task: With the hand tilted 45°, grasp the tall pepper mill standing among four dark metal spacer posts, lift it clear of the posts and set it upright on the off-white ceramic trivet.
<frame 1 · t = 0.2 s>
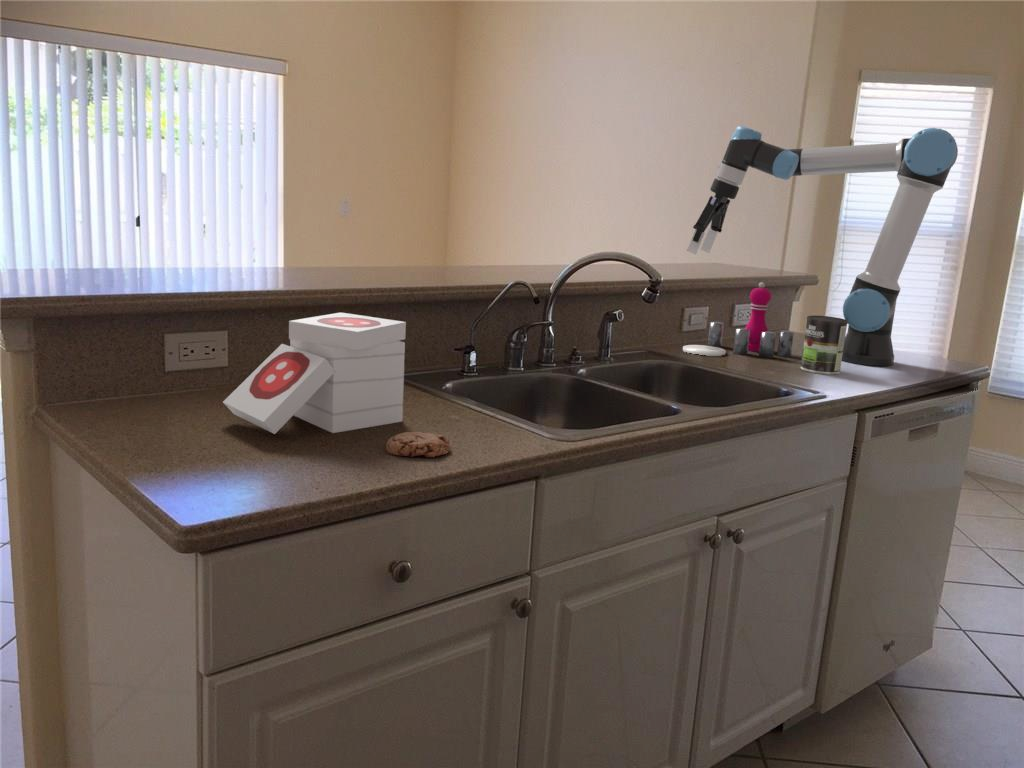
hand: (698, 251, 261), 27 cm above the worktop, tool tilted 15°, fingers open, 13 cm apart
coffee can: (820, 371, 239), on the worktop
pepper mill: (753, 350, 265), on the worktop
cookie: (418, 453, 148), on the worktop
spacer posts: (753, 349, 265), on the worktop
pizza boxes: (320, 423, 162), on the worktop
trivet: (703, 352, 256), on the worktop
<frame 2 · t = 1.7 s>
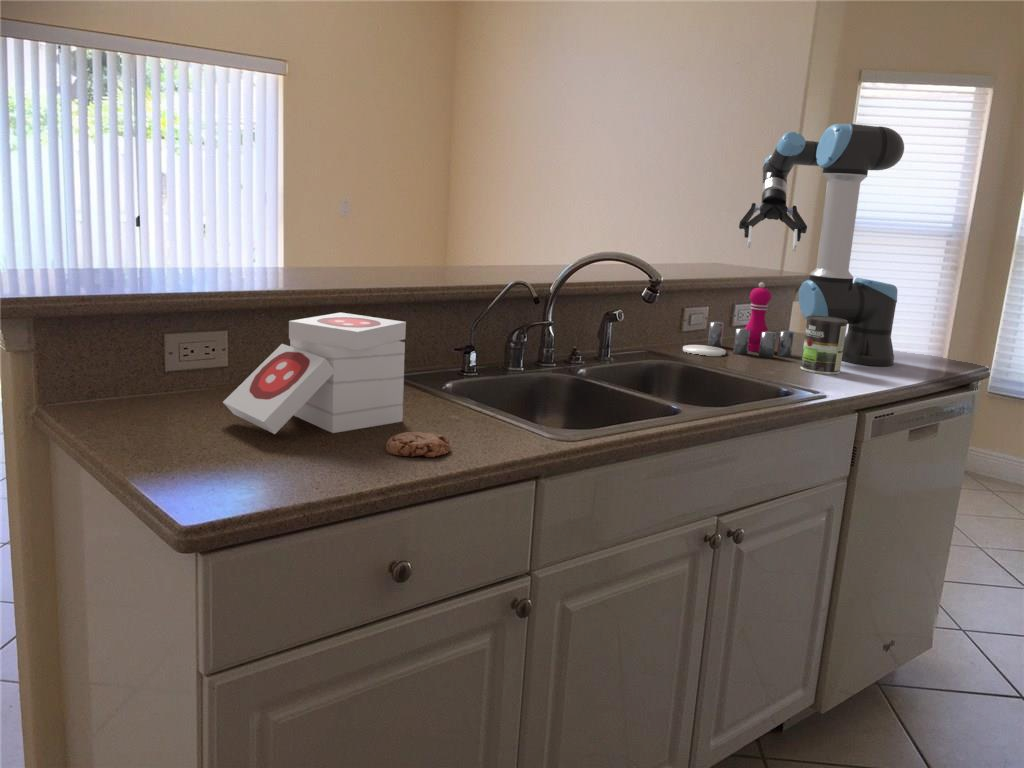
hand: (771, 246, 273), 30 cm above the worktop, tool tilted 45°, fingers open, 13 cm apart
nothing on the worktop moved.
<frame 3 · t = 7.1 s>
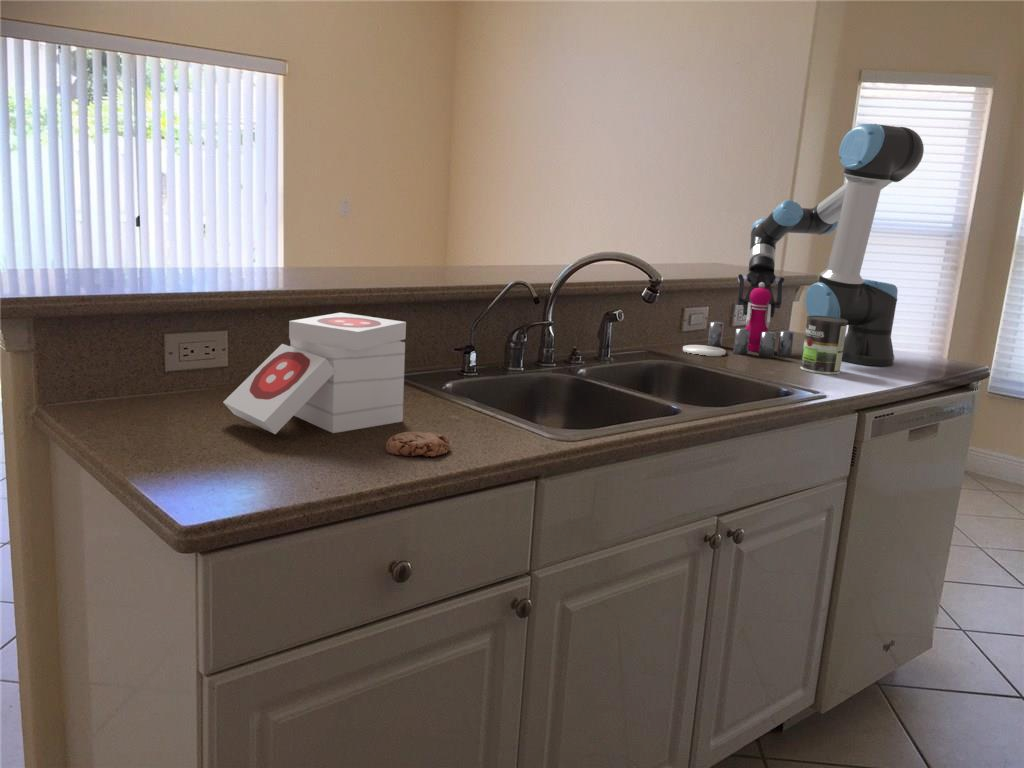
hand: (757, 323, 260), 8 cm above the worktop, tool tilted 45°, fingers closed on pepper mill, 5 cm apart
pepper mill: (753, 350, 265), on the worktop, touching gripper
everything else where it was.
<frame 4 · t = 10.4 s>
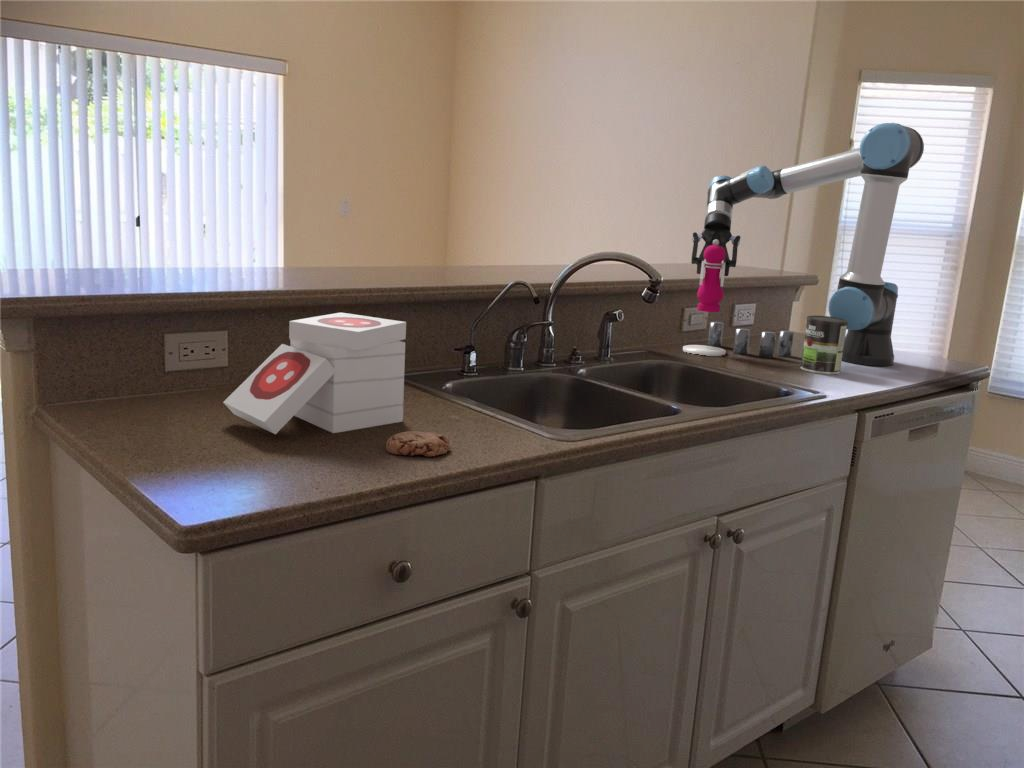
hand: (711, 282, 248), 20 cm above the worktop, tool tilted 45°, fingers closed on pepper mill, 5 cm apart
pepper mill: (708, 311, 253), point 12 cm above the worktop, touching gripper
everything else where it was.
when the fingers open (9 cm above the worktop, at t = 14.2 s): pepper mill stays where it is, resting on trivet.
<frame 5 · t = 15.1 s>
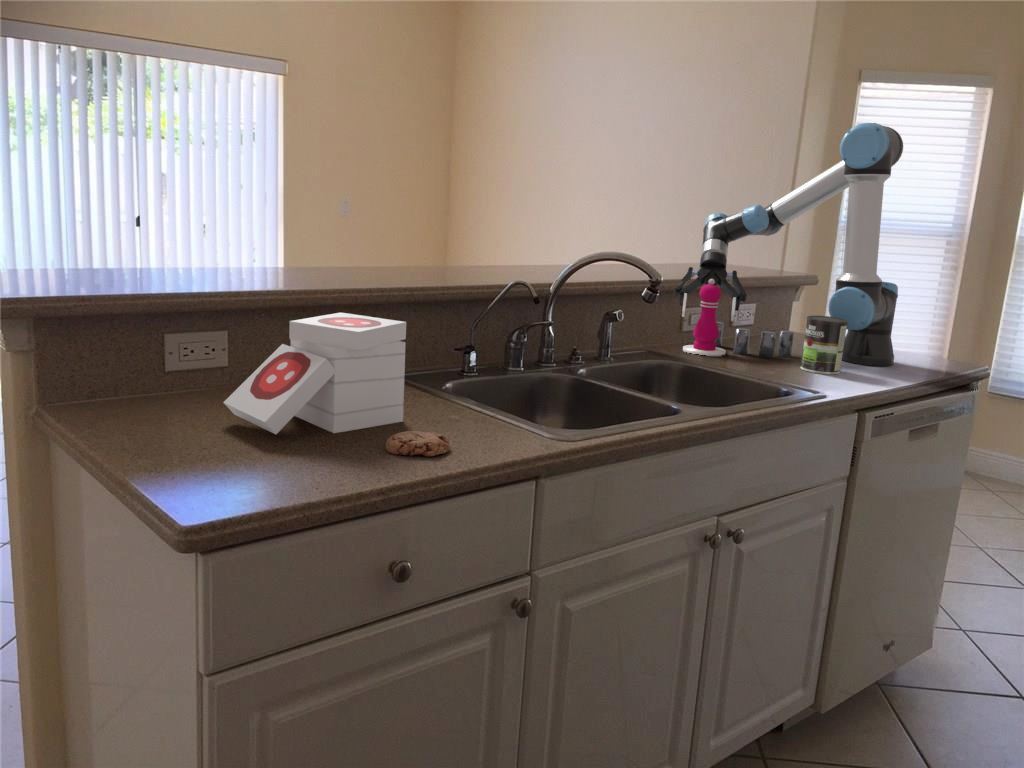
hand: (707, 316, 251), 11 cm above the worktop, tool tilted 45°, fingers open, 13 cm apart
pepper mill: (704, 349, 256), point 1 cm above the worktop, touching trivet
everything else where it was.
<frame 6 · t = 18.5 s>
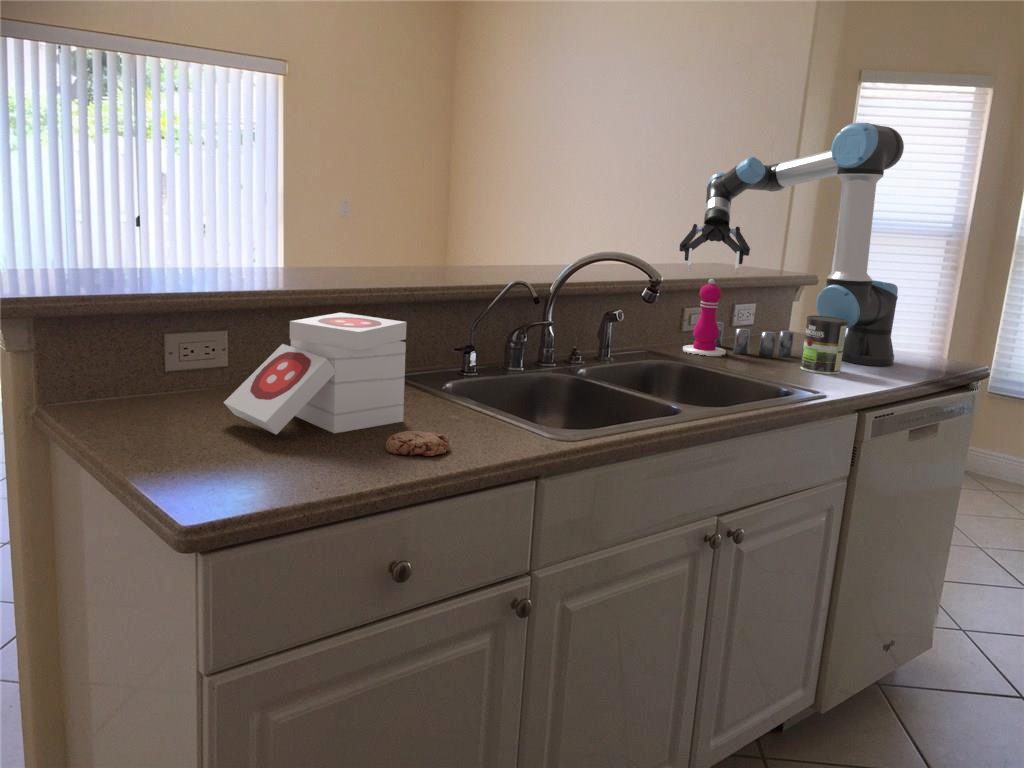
hand: (712, 269, 260), 23 cm above the worktop, tool tilted 45°, fingers open, 13 cm apart
nothing on the worktop moved.
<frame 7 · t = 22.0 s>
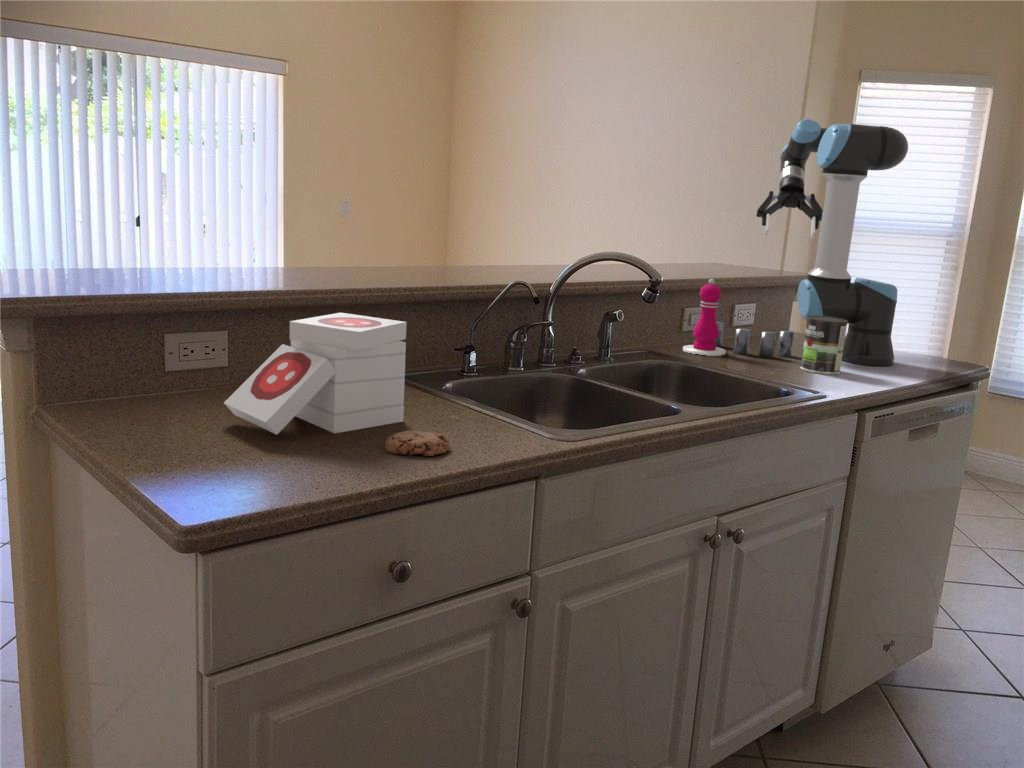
hand: (789, 234, 272), 34 cm above the worktop, tool tilted 45°, fingers open, 13 cm apart
nothing on the worktop moved.
at the end: pepper mill inside the target area on the trivet (0.1 cm from its centre), point 0.8 cm above the trivet's base; pepper mill tilted 0°; the gripper is holding nothing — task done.
